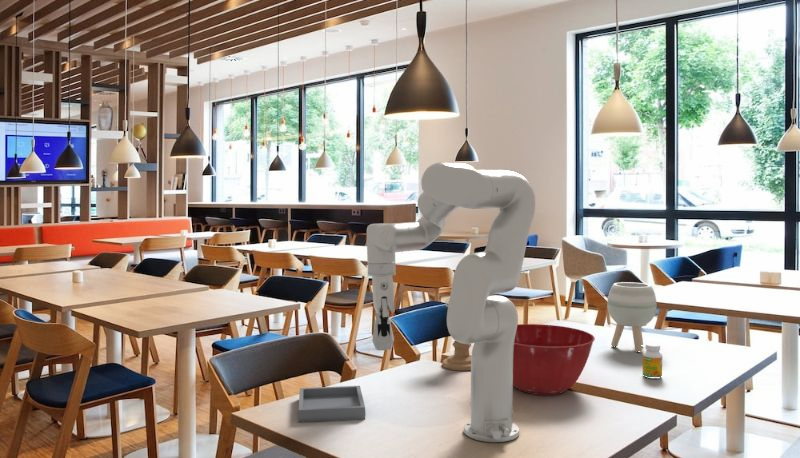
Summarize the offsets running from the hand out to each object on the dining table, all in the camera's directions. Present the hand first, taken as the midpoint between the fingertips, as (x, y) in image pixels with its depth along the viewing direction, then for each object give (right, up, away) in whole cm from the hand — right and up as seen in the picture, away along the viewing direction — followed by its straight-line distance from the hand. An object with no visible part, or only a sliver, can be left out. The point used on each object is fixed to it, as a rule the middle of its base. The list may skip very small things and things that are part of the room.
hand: (383, 336), depth 184 cm
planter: (+85, -13, +53) cm, 101 cm away
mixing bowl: (+44, -16, +7) cm, 47 cm away
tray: (-13, -17, -10) cm, 24 cm away
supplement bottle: (+79, -15, +18) cm, 82 cm away
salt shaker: (0, -4, 0) cm, 4 cm away
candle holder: (+24, -14, +31) cm, 42 cm away
